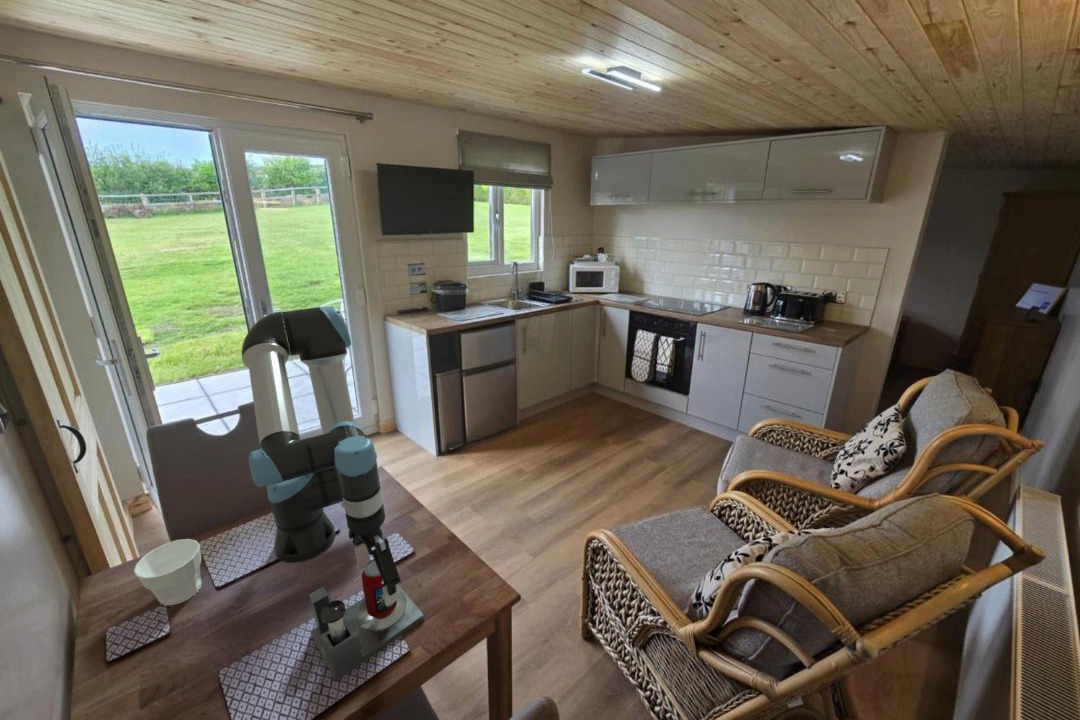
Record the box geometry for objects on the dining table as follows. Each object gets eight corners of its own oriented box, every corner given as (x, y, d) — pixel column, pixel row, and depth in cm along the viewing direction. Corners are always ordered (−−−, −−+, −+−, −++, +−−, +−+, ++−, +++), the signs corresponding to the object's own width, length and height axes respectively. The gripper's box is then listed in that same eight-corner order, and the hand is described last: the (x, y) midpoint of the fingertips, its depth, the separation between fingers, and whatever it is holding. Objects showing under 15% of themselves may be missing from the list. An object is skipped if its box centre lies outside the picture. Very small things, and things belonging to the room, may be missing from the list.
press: (310, 634, 100) (301, 598, 96) (394, 583, 113) (388, 550, 109) (335, 681, 90) (326, 644, 86) (424, 619, 103) (419, 584, 99)
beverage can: (388, 622, 100) (382, 580, 96) (361, 617, 101) (354, 575, 97) (402, 597, 106) (398, 557, 102) (376, 593, 108) (371, 553, 104)
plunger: (325, 642, 92) (317, 609, 89) (346, 628, 95) (339, 596, 92) (333, 657, 89) (325, 623, 86) (355, 642, 92) (348, 609, 89)
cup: (222, 582, 114) (210, 547, 110) (167, 622, 103) (152, 585, 99) (193, 566, 118) (181, 532, 115) (137, 603, 108) (122, 567, 104)
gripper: (323, 488, 100) (339, 561, 108) (373, 549, 83) (388, 630, 91) (356, 474, 105) (369, 544, 112) (410, 529, 88) (420, 608, 96)
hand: (377, 583), depth 102 cm, fingers open, 13 cm apart
